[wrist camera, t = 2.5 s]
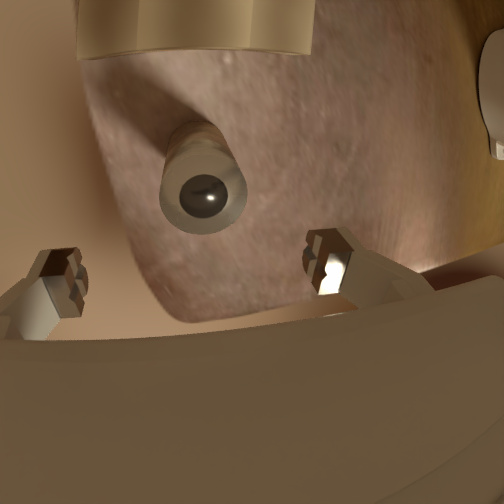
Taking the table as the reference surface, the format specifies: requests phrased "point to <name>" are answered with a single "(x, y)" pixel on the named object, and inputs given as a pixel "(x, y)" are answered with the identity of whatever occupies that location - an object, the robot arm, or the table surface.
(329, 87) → the table surface
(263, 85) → the table surface
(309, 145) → the table surface
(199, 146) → the bushing
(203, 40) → the frame
